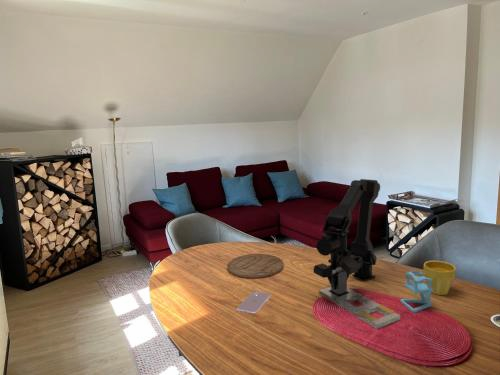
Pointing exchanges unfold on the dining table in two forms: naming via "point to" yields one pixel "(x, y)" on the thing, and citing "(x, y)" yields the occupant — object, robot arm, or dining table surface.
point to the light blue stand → (418, 290)
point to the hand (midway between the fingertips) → (338, 288)
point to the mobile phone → (254, 302)
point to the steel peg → (340, 283)
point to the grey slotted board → (362, 307)
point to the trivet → (255, 266)
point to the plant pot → (439, 276)
